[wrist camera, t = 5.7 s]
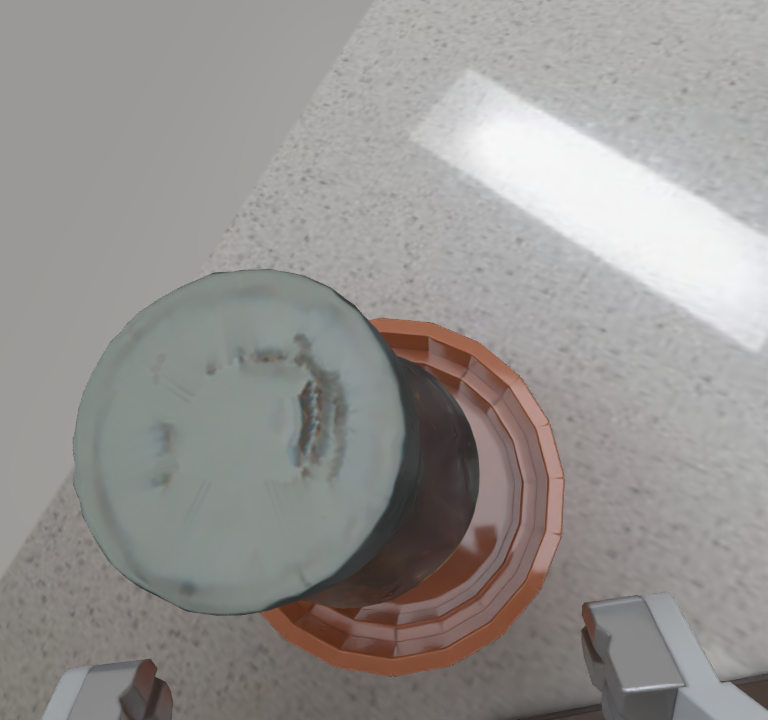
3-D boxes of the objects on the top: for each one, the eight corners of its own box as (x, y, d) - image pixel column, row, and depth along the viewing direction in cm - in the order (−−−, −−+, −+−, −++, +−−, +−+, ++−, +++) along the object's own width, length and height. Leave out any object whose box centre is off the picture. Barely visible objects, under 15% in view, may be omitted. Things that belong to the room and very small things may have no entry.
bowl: (278, 665, 24) (240, 705, 20) (241, 380, 28) (201, 355, 23) (573, 610, 24) (608, 637, 19) (500, 327, 27) (515, 289, 22)
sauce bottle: (493, 461, 25) (675, 337, 6) (425, 590, 24) (388, 930, 5) (367, 392, 27) (190, 108, 7) (297, 511, 26) (-120, 543, 6)
